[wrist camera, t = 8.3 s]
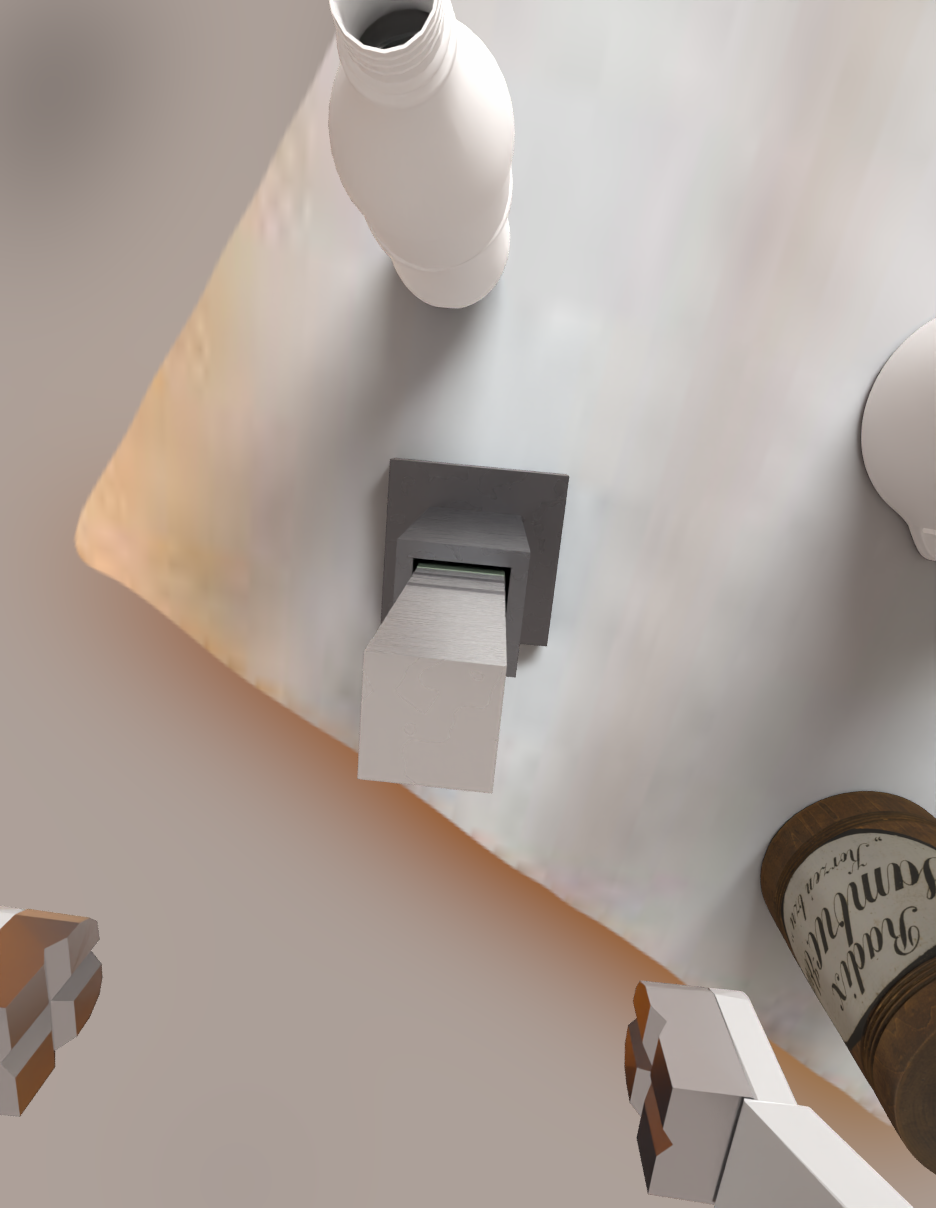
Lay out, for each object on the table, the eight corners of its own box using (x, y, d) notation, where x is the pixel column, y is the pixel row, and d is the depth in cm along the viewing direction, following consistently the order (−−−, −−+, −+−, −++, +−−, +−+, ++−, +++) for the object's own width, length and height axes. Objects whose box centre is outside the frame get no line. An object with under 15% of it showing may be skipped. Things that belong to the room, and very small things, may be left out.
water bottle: (482, 334, 41) (456, 192, 17) (381, 288, 41) (211, 76, 17) (527, 222, 39) (570, -115, 15) (423, 172, 39) (298, -254, 15)
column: (503, 544, 37) (507, 665, 17) (496, 610, 38) (492, 794, 18) (435, 538, 37) (363, 650, 17) (430, 604, 38) (356, 779, 18)
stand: (566, 474, 43) (604, 496, 27) (544, 637, 46) (568, 743, 30) (395, 457, 44) (333, 470, 28) (385, 621, 47) (325, 717, 31)
